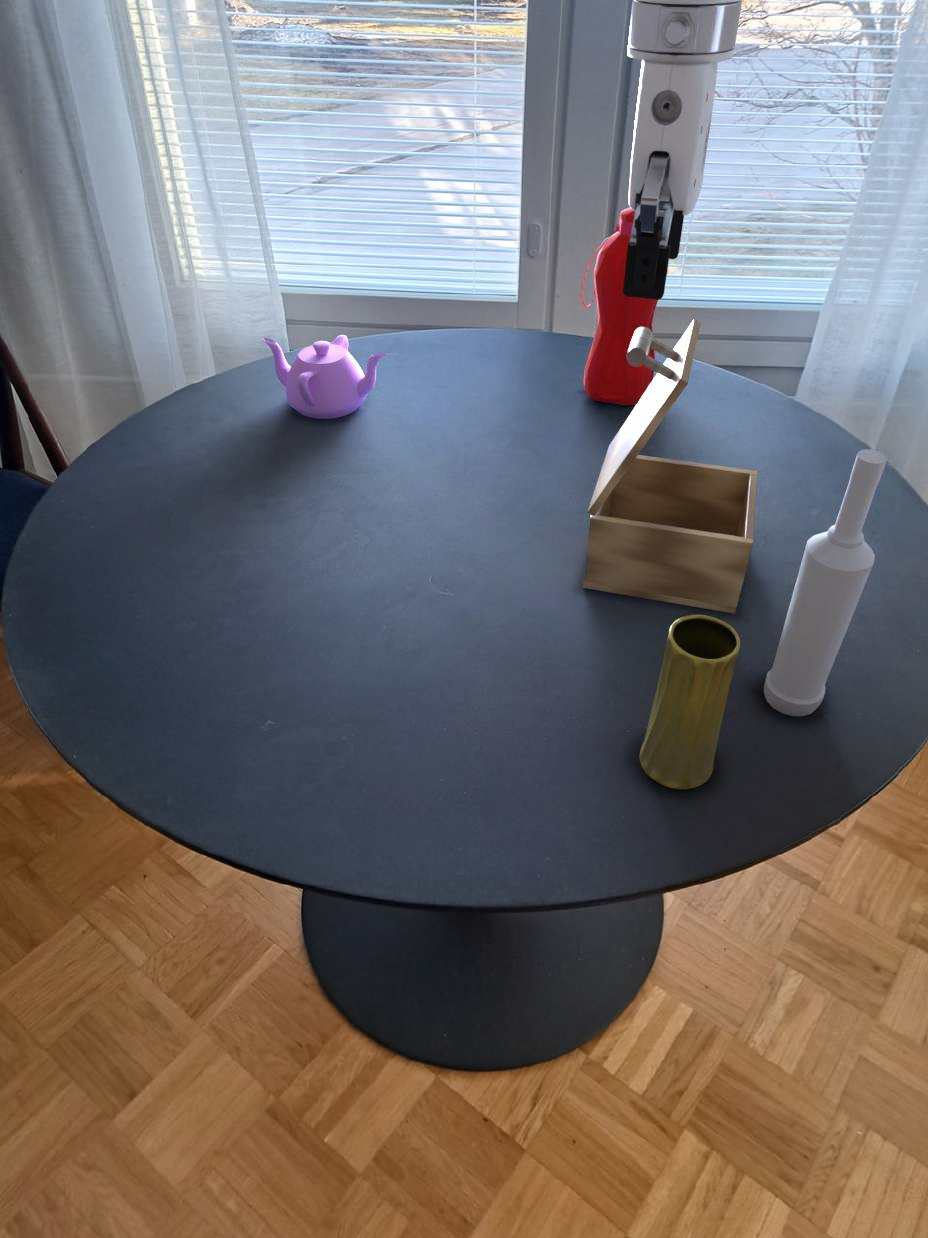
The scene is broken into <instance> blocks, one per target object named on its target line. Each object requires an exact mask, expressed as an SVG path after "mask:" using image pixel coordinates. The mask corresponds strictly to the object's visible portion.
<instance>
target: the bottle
mask: <svg viewBox="0 0 928 1238" xmlns="http://www.w3.org/2000/svg"><path fill="white" fill-rule="evenodd" d="M887 461H888V457H887V455H886V454H885V453H883V452H882V451H879V450H877V449H871V448H869V449H867V448H866V449H860V450H859V451H858V452H857V454H856V457H855V460H854V462H853V463H854V464H853V466H852V469H851V473H850V476H849V481H848V484H847V486H846V487H847V488H846V490H845V494H844V496H843V499H842V502H841V505H840V508H839V512H838V515H837V517H836V521H835V523H834V524H833V525H831V526H830V527H829V528H828V530H827V531H824V532H821V533H817V534H814V535H812V536H811V537H810V538H809V539H808V540H807V542H806V544H805V549H804V552H803V556H802V560H801V564H800V567H799V571H798V574H797V576H796V577H797V578H796V580H795V585H794V588H793V591H792V595H791V599H790V603H789V606H788V609H787V613H786V617H785V621H784V623H783V629H782V632H781V636H780V639H779V643H778V645H777V650H776V653H775V657H774V661H773V664H772V668H771V669H770V670H769V671H768V672H767V674H766V676H765V681H764V685H763V693H764V694H763V695H764V697H765V700H766V702H767V704H769V705H770V707H771V708H772V709H774V710H776V711H777V712H779V713H780V714H784V715H787V716H791V717H805V716H808V715H811V714H813V713H814V712H815V711H816V710H817V709H818V708H819V706H821V704H822V703H823V700H824V697H825V696H826V695H825V694H826V690H827V689H826V683H827V681H828V678H829V676H830V673H831V671H832V668H833V666H834V663H835V660H836V659H837V656H838V654H839V650H840V649H841V646H842V643H843V641H844V638H845V636H846V634H847V631H848V628H849V626H850V623H851V621H852V618H853V616H854V614H855V612H856V608H857V606H858V604H859V601H860V598H861V596H862V593H863V591H864V588H865V585H866V584H867V581H868V579H869V576H870V573H871V571H872V569H873V566H874V565H875V564H874V563H875V559H876V558H875V557H876V554H875V552H874V550H873V549H872V547H871V546H870V545H869V544H868V543H867V542H866V541H865V535H864V533H863V532H862V531H863V528H864V525H865V522H866V520H867V516H868V513H869V510H870V507H871V505H872V502H873V499H874V496H875V493H876V491H877V487H878V485H879V483H880V481H881V478H882V475H883V473H884V470H885V468H886V464H887Z"/></svg>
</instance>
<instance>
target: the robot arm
mask: <svg viewBox="0 0 928 1238" xmlns="http://www.w3.org/2000/svg"><path fill="white" fill-rule="evenodd" d="M742 4H743V0H632V2H631V13H630V14H631V15H630V23H629V24H630V25H629V33H628V34H629V35H628V45H627V52H626V53H627V54H626V55H627V57H629V58H631V59H635V60H638V61H641V68H640V77H639V84H638V85H639V86H638V93H637V102H636V111H635V118H634V119H635V120H634V129H633V139H632V149H631V159H630V171H629V184H628V185H629V186H628V206H629V207H631V209H632V210H634V211H635V216H634V221H633V226H632V231H631V237H630V242H629V243H628V249H627V258H626V267H625V276H624V285H623V294H624V295H625V296H627V297H637V298H647V299H657V300H658V301H659V300H662V298H663V297H664V295H665V290H666V282H667V276H668V272H667V269H668V270H669V261H670V260H675V259H677V258H678V256H679V254H680V247H681V241H682V233H683V226H684V219H685V216H688V215H689V214H691V213H692V212H693V211H694V210H695V207H696V204H697V201H698V199H699V196H700V194H701V190H702V186H703V183H704V182H703V181H704V174H705V173H704V172H705V165H706V158H707V152H708V143H709V137H710V130H711V125H712V118H713V117H712V116H713V110H714V104H715V94H716V87H717V86H716V85H717V76H718V63H720V62H725V61H728V60H732V59H733V58H734V55H735V50H736V49H735V48H736V47H735V46H736V43H737V42H736V41H737V35H738V30H739V23H740V16H741V12H742Z"/></svg>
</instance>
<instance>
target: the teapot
mask: <svg viewBox="0 0 928 1238" xmlns="http://www.w3.org/2000/svg"><path fill="white" fill-rule="evenodd" d="M262 340H263V341H264V342H265V343H266V345H267V346H268V347H269V348H270V350H271V353H272V356H273V362H274V370H275V374H276V377H277V379H278V381H279V382H280V384H281V385H282V386H283V387H284V388H285V398H286V401H287V403H288V404H289V405H290V406H291V407H292V408H293V409H294V410H295V411H297V412H298V413H299V414H301V415H302V416H304V417H307V418H312V419H319V420H321V419H322V420H329V419H330V420H331V419H337V418H342V417H345V416H348V415H350V414H352V413H354V412H355V411H357V410H358V409H359V408H360V407H361V405H362V404H363V403H364V401H365V400H366V399H367V396H368V395H369V394H370V393H371V392H373V389H374V387H375V385H376V380H377V365H378V362H379V361H380V359H381V358H382V357H384V356H386V354H387V353H386V352H377V353H374V354H372V355H370V356H369V358H368V360H367V364H366V372H365V374H364V371H363V370H362V368H361V367H360V365H359V363H358V362H357V360H356V359H355V358H354V357H353V355H352V354H351V353H350V352H349V340H348V337H347V335H345V334H340V335H338V336H337V337H336V338H335V339H334V340H333V341H332V343H330V342H329V341H326V340H319V341H315V342H314V343H313V344H312V345H309V346H306V347H304V348H302V349H301V350H299V352H298V353H297V354H296V356H295V358H294V359H293V362H292V364H291V366H290V365H289V364H288V362H287V360H286V358H285V355H284V352H283V349H282V347H281V346H280V345H279V343H278V342H276V341H275V340H273V339H272V338H269V337H262Z"/></svg>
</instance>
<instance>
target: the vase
mask: <svg viewBox="0 0 928 1238" xmlns="http://www.w3.org/2000/svg"><path fill="white" fill-rule="evenodd" d="M740 648H741V638H740V637H739V634H738V632H737V631H736V629H734V627H733V626H731V624H729V623H727V622H726V621H723V620H722V619H719V618H717V617H714V616H709V615H705V614H692V615H685V616H682V617H680V618H678V619H676V620H675V621H674V622H673V623H672V624H671V625H670V627H669V630H668V635H667V639H666V644H665V650H664V655H663V659H662V665H661V669H660V674H659V678H658V682H657V686H656V691H655V695H654V698H653V703H652V707H651V711H650V713H649V719H648V723H647V727H646V732H645V735H644V740H643V742H642V745H641V747H640V751H639V762H640V765H641V768H642V770H643V772H645V774H646V775H647V776H648V777H649V778H651V780H654V782H656V783H658V784H660V786H663V787H666V788H669V789H673V790H682V791H683V790H690V789H691V790H692V789H696V788H698V787H700V786H702V785H703V784H705V783H706V782H707V781H708V780H709V779H710V777H711V776H712V773H713V771H714V763H715V761H714V760H715V756H716V752H717V747H718V742H719V737H720V733H721V726H722V721H723V717H724V713H725V709H726V704H727V700H728V695H729V691H730V687H731V683H732V678H733V675H734V670H735V665H736V662H737V659H738V656H739V652H740Z"/></svg>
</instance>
